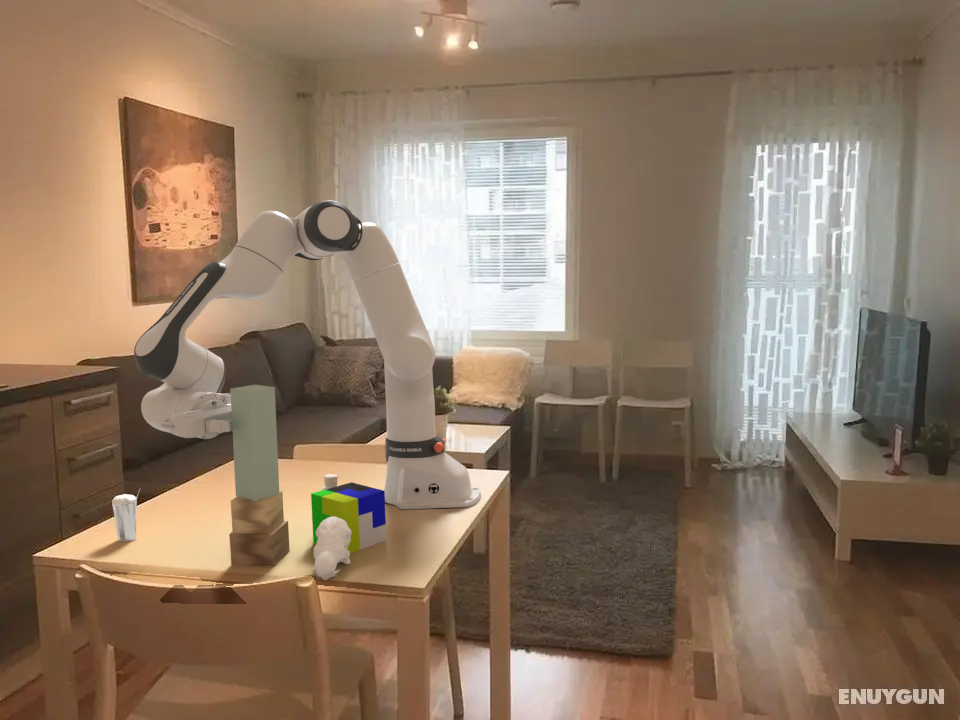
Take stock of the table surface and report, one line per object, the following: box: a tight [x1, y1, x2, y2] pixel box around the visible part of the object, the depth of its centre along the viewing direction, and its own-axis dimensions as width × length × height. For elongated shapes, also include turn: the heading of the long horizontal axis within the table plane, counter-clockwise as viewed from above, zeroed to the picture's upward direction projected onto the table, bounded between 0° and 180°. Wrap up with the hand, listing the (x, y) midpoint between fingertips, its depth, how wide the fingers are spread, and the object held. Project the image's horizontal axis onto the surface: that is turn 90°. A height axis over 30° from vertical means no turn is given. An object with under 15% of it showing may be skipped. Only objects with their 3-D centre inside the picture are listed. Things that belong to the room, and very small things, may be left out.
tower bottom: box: [229, 520, 290, 568], centre depth 153 cm, size 8×8×6 cm
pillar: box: [230, 384, 280, 501], centre depth 151 cm, size 6×6×20 cm
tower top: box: [230, 490, 285, 534], centre depth 152 cm, size 7×7×6 cm
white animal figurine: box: [312, 517, 351, 581], centre depth 146 cm, size 6×8×12 cm
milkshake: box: [111, 488, 141, 543], centre depth 165 cm, size 4×5×10 cm
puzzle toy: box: [310, 481, 387, 554], centre depth 161 cm, size 10×10×10 cm
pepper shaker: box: [321, 473, 339, 491], centre depth 169 cm, size 5×5×11 cm
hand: (252, 422), depth 151 cm, fingers open, 8 cm apart
